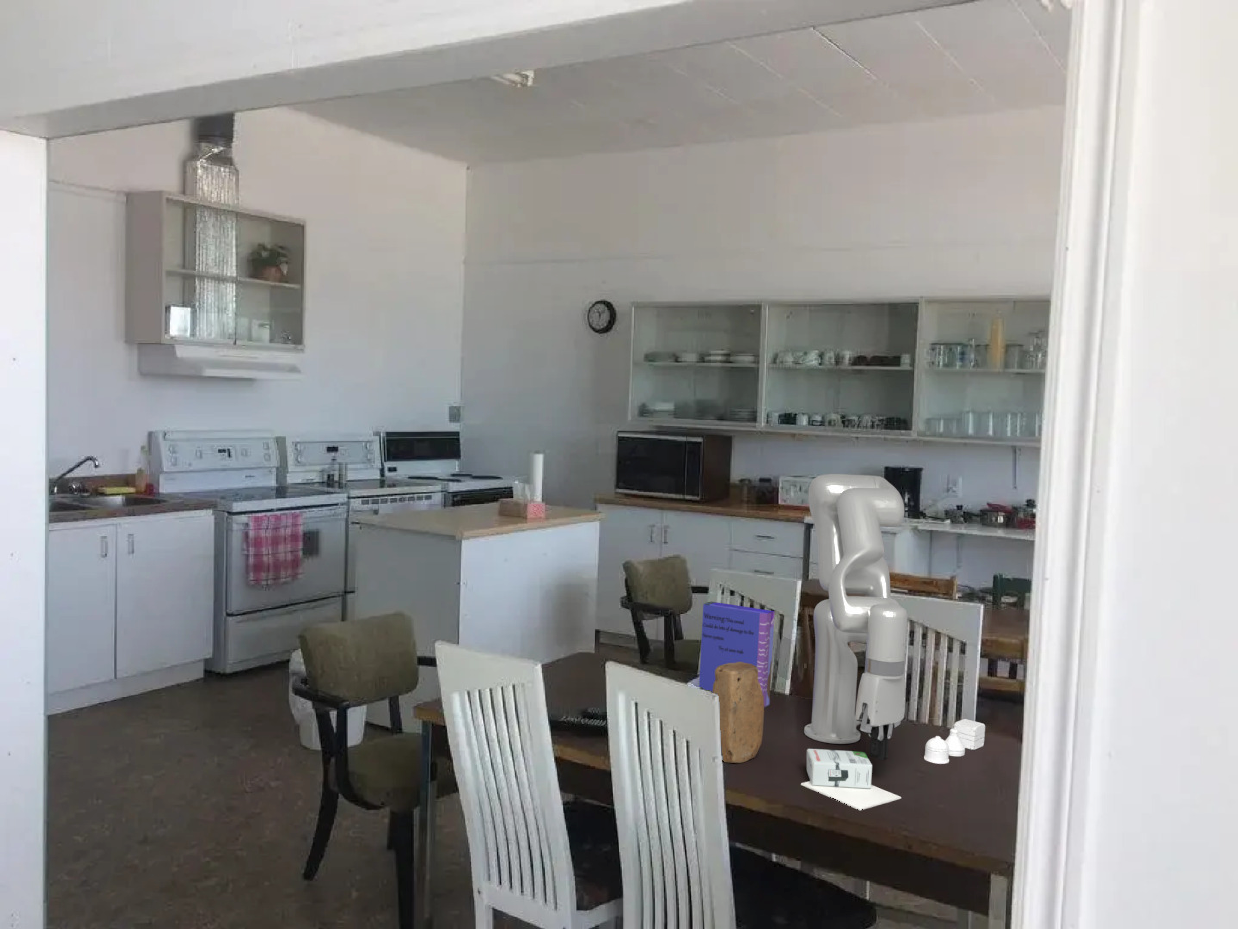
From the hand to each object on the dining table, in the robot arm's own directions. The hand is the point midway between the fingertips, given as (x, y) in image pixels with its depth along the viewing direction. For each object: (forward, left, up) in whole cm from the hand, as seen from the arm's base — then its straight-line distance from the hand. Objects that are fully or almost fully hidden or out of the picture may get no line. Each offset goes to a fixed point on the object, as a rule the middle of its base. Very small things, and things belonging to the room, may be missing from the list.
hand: (878, 757), depth 210 cm
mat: (+8, 0, -6) cm, 10 cm away
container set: (-31, -5, -6) cm, 32 cm away
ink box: (+1, -1, -3) cm, 3 cm away
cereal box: (-14, -58, -6) cm, 60 cm away
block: (+15, -26, -6) cm, 30 cm away
